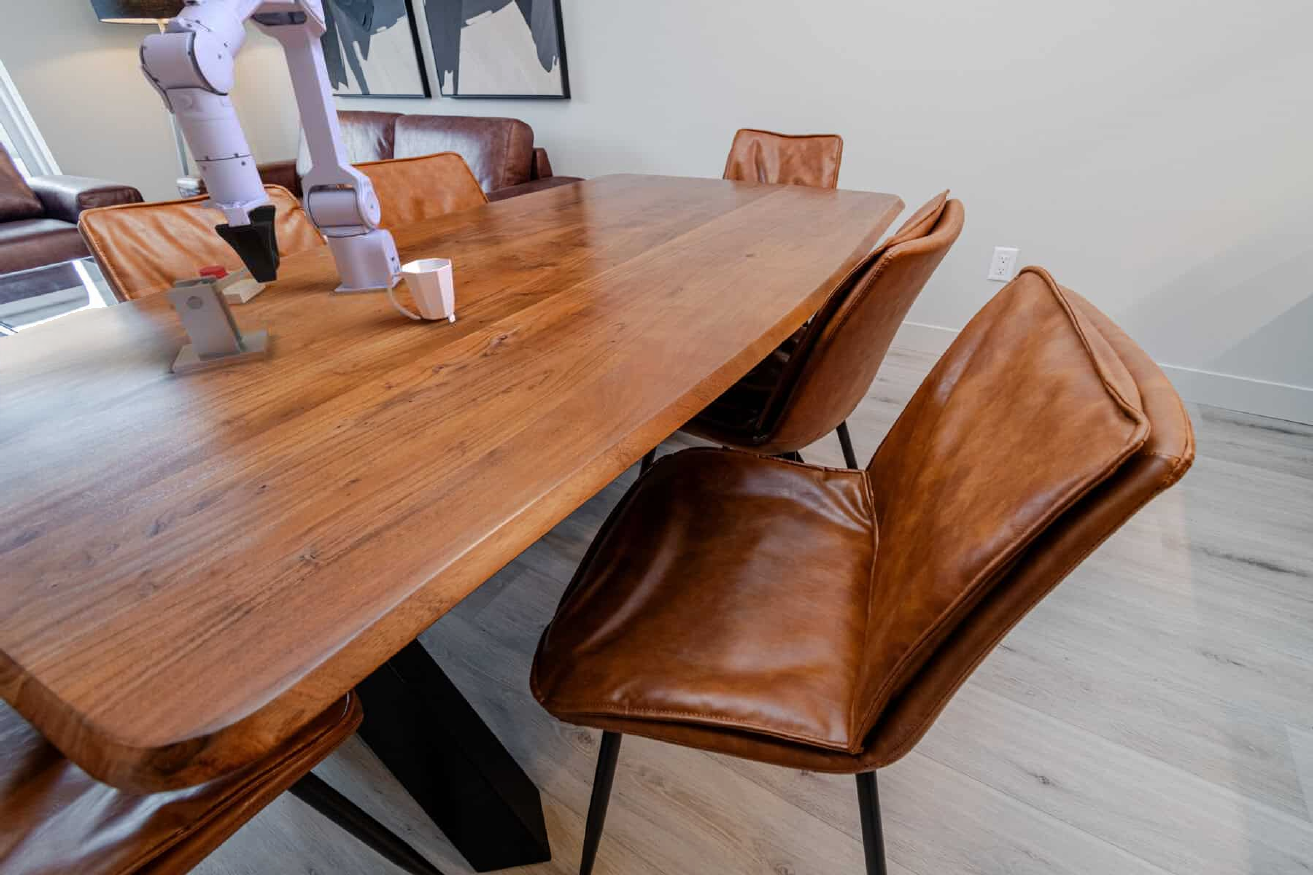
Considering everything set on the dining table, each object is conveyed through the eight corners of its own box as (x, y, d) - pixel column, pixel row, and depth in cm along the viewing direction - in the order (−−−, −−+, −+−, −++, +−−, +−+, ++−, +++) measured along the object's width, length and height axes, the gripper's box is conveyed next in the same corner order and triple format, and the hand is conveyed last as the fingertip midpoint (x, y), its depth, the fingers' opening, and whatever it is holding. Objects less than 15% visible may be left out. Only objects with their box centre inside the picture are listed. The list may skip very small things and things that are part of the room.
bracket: (270, 337, 84) (241, 267, 78) (266, 358, 77) (234, 284, 72) (187, 353, 80) (150, 281, 75) (175, 376, 74) (135, 300, 69)
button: (233, 275, 100) (228, 264, 99) (221, 282, 97) (217, 271, 96) (210, 276, 100) (205, 266, 99) (198, 283, 97) (193, 273, 96)
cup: (455, 329, 83) (441, 272, 78) (386, 331, 84) (368, 274, 79) (472, 311, 89) (459, 257, 84) (407, 312, 90) (391, 258, 85)
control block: (266, 287, 104) (257, 267, 102) (243, 303, 97) (234, 282, 95) (206, 292, 103) (196, 272, 101) (179, 308, 96) (169, 287, 94)
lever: (286, 262, 78) (267, 240, 76) (285, 269, 76) (265, 246, 74) (200, 309, 77) (179, 288, 75) (196, 317, 74) (174, 295, 72)
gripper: (193, 154, 74) (240, 264, 81) (170, 169, 62) (227, 295, 70) (258, 148, 76) (297, 256, 83) (247, 161, 65) (294, 284, 72)
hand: (269, 273), depth 77 cm, fingers open, 7 cm apart
